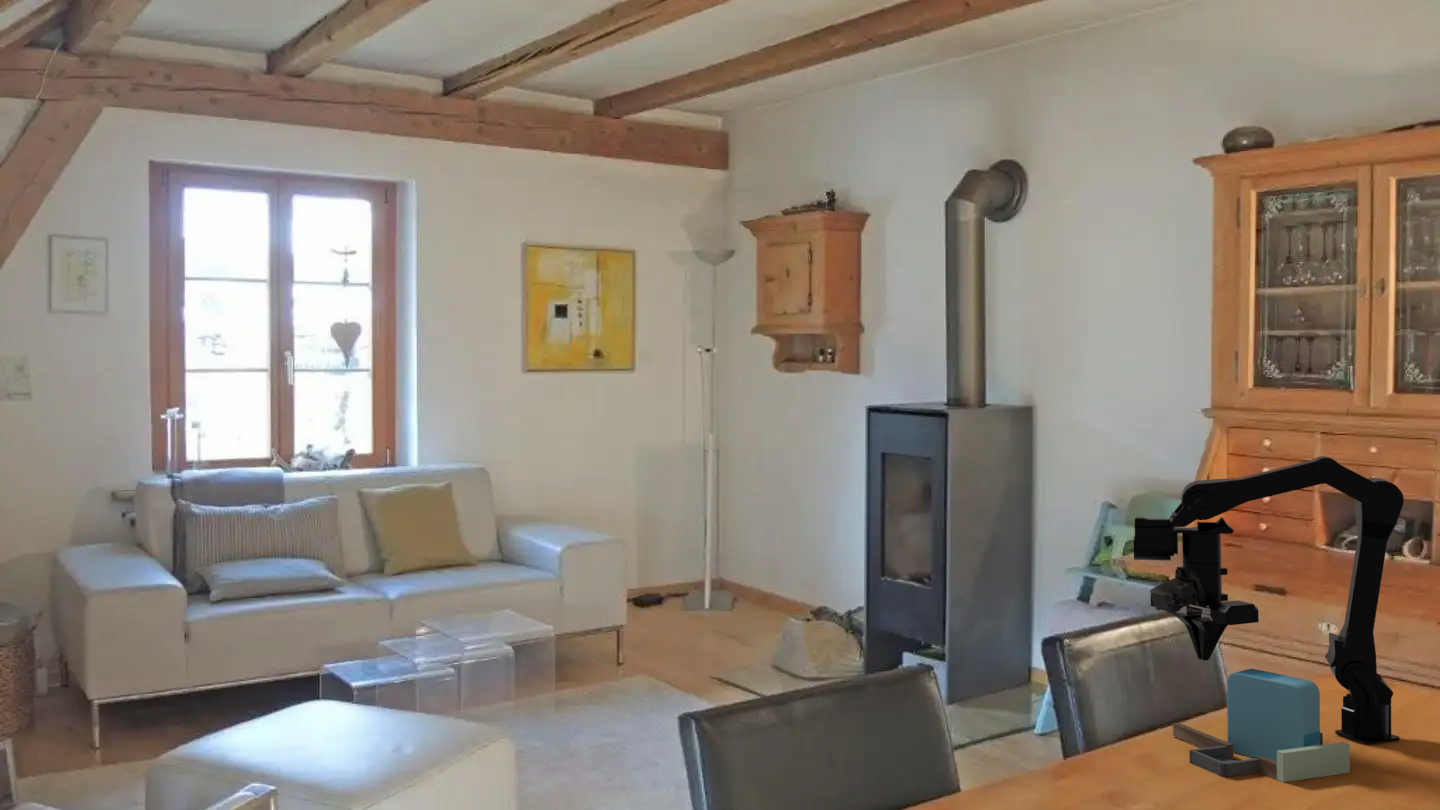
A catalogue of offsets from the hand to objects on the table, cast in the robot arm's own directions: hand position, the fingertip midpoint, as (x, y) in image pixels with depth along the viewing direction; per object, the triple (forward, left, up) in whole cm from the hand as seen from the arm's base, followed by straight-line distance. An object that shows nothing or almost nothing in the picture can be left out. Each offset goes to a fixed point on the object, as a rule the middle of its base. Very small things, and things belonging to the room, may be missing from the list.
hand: (1203, 659), depth 201 cm
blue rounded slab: (+2, +17, -11) cm, 20 cm away
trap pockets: (+2, +14, -11) cm, 18 cm away
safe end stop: (+2, +25, -11) cm, 28 cm away
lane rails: (+2, +14, -11) cm, 18 cm away
